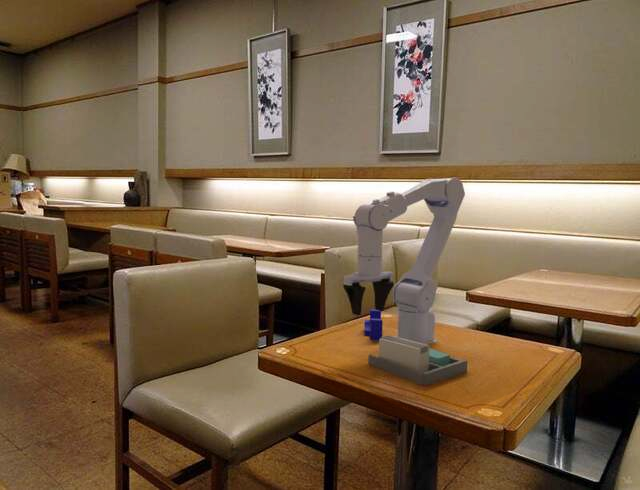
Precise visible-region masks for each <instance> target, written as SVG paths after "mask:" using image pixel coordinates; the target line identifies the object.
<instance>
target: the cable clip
mask: <svg viewBox="0 0 640 490" xmlns="http://www.w3.org/2000/svg"><path fill="white" fill-rule="evenodd" d="M363 328H364V329H363V331H364V332H363V333H364V336H369V341H379V339H380V338H381V337H383V318H382V311H379V310H376V309H369V319H364V327H363Z"/></svg>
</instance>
